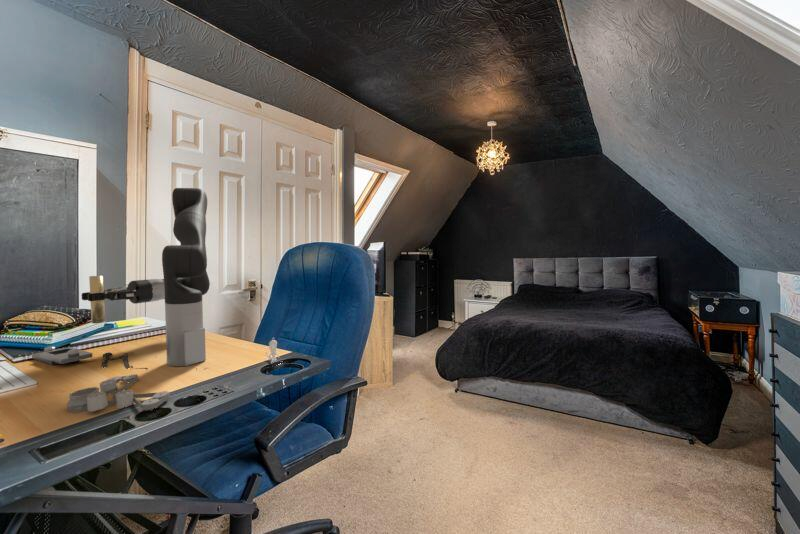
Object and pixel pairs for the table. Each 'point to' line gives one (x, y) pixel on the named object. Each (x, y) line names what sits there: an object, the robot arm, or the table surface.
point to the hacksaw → (125, 358)
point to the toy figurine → (273, 350)
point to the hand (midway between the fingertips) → (85, 297)
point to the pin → (98, 306)
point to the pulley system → (97, 400)
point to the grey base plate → (61, 355)
